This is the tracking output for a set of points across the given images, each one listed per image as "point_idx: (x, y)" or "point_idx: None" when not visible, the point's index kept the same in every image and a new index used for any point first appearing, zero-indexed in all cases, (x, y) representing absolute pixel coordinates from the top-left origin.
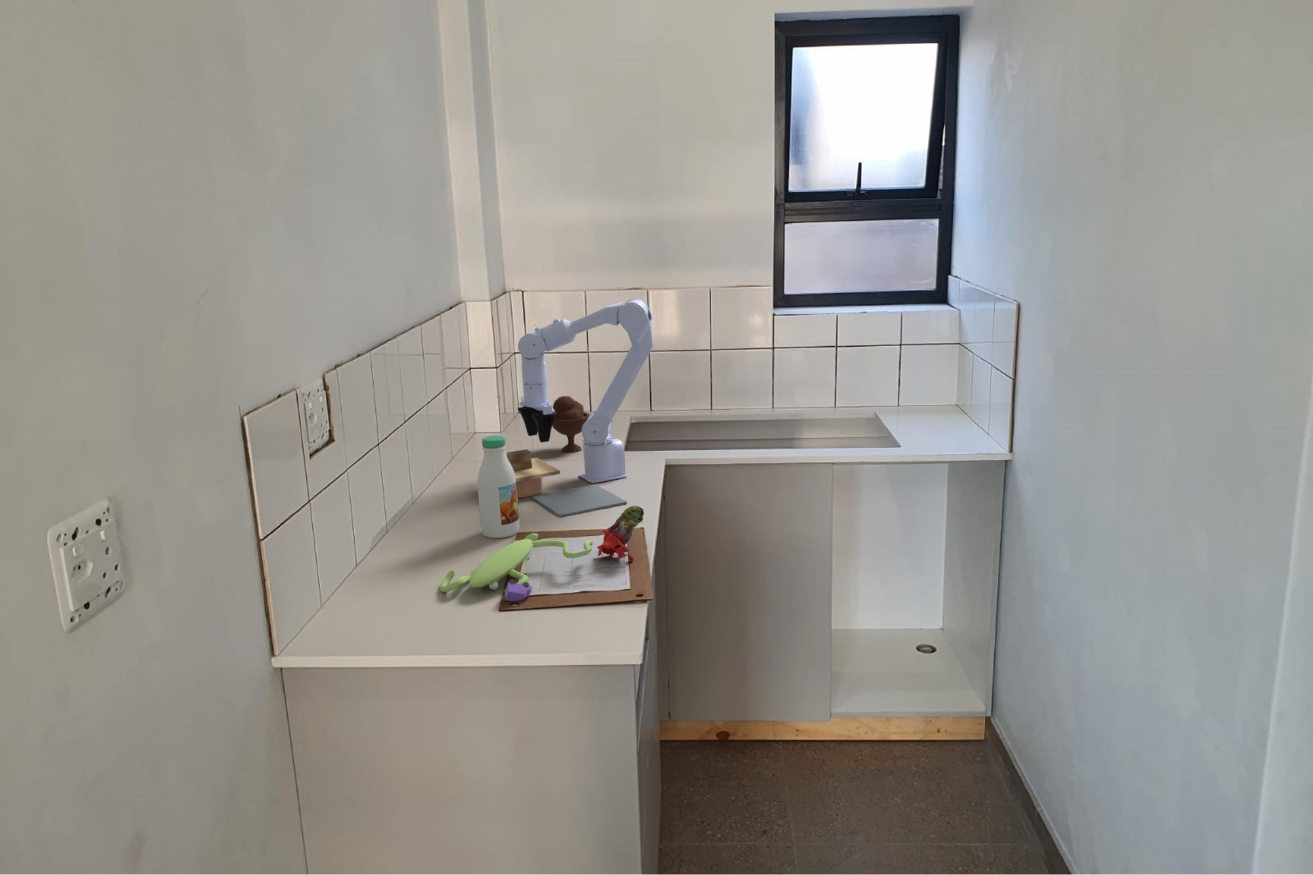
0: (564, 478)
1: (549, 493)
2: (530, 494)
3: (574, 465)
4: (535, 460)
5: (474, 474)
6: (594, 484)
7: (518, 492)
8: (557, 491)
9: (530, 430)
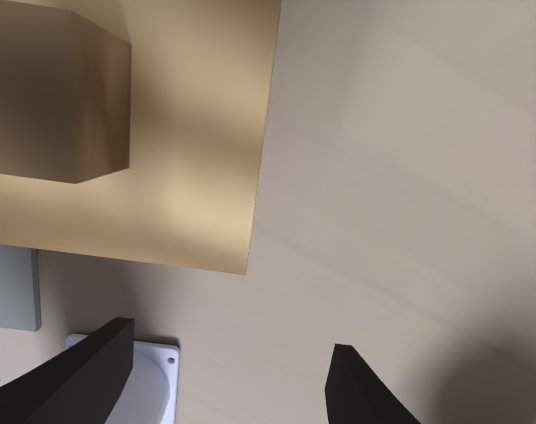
0: (190, 302)
1: None
2: None
3: (304, 395)
4: (198, 244)
5: (499, 73)
6: (34, 327)
7: None
8: None
9: (342, 384)
